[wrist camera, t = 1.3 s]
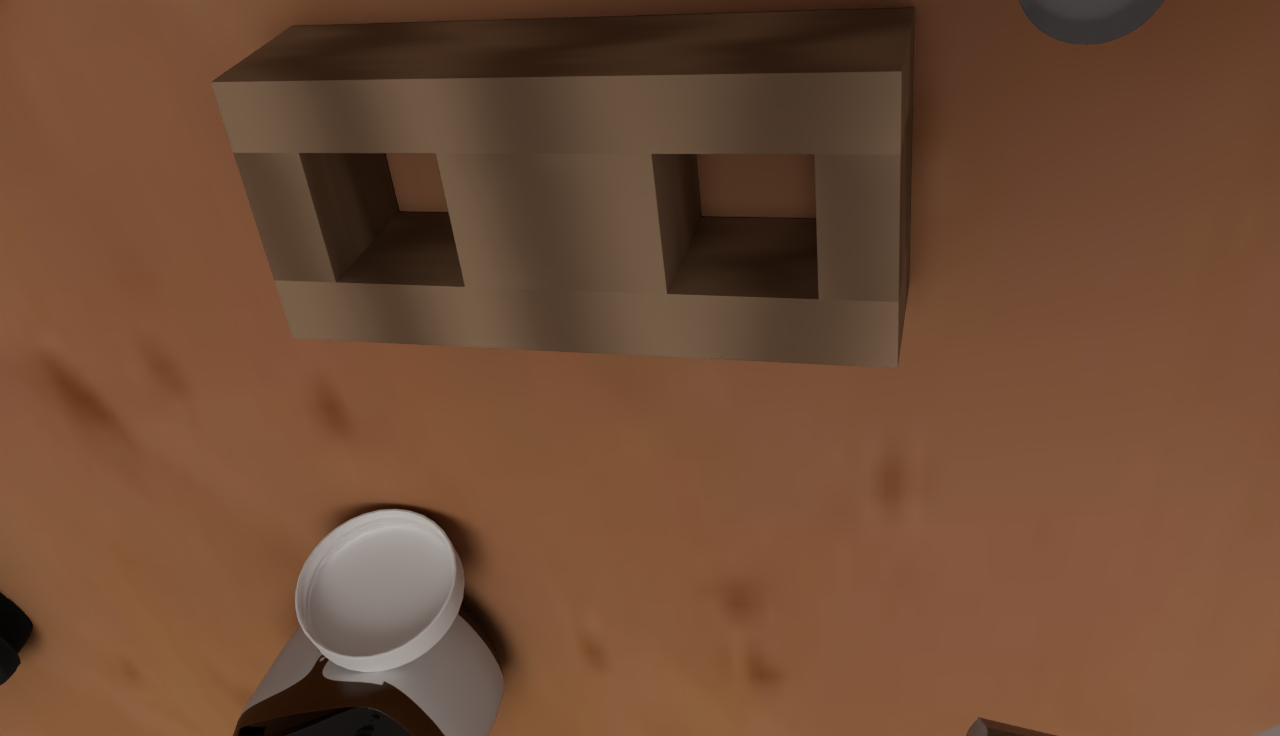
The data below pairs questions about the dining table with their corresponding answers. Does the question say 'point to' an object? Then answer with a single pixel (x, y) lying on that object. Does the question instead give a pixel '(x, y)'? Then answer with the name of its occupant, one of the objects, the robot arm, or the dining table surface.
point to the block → (585, 182)
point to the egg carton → (11, 636)
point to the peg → (1088, 18)
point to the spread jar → (380, 641)
